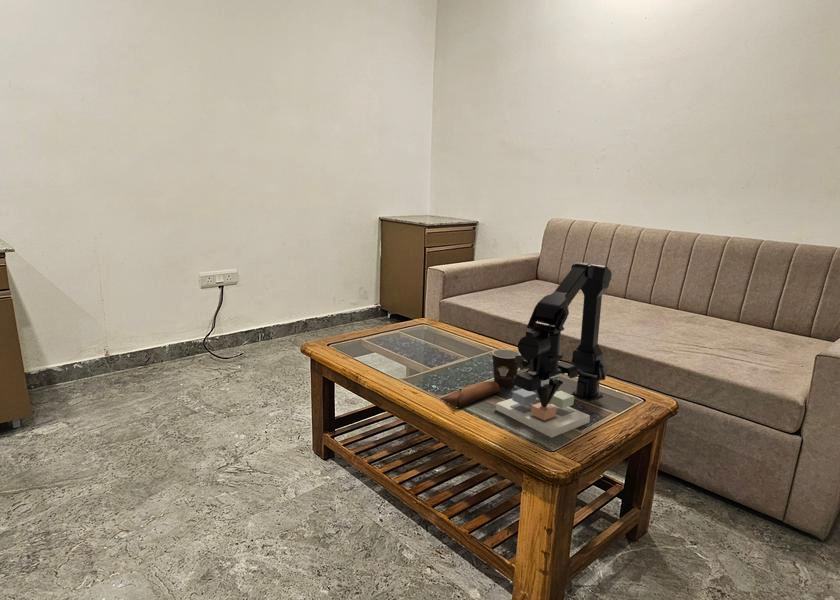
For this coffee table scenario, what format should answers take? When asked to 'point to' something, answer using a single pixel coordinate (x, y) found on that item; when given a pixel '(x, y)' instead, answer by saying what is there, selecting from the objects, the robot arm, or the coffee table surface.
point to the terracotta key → (543, 411)
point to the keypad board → (550, 427)
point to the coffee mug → (505, 367)
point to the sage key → (562, 399)
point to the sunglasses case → (471, 393)
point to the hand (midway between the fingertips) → (544, 406)
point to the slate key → (524, 397)
